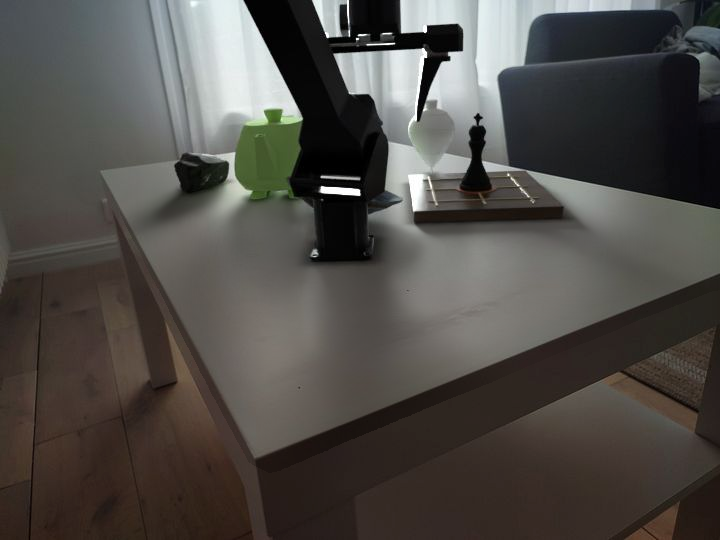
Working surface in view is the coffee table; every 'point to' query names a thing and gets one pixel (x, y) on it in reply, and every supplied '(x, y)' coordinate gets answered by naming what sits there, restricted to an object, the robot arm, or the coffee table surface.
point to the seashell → (373, 206)
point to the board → (481, 198)
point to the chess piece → (476, 160)
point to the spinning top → (431, 133)
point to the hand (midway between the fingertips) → (378, 123)
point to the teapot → (267, 153)
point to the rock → (200, 171)
